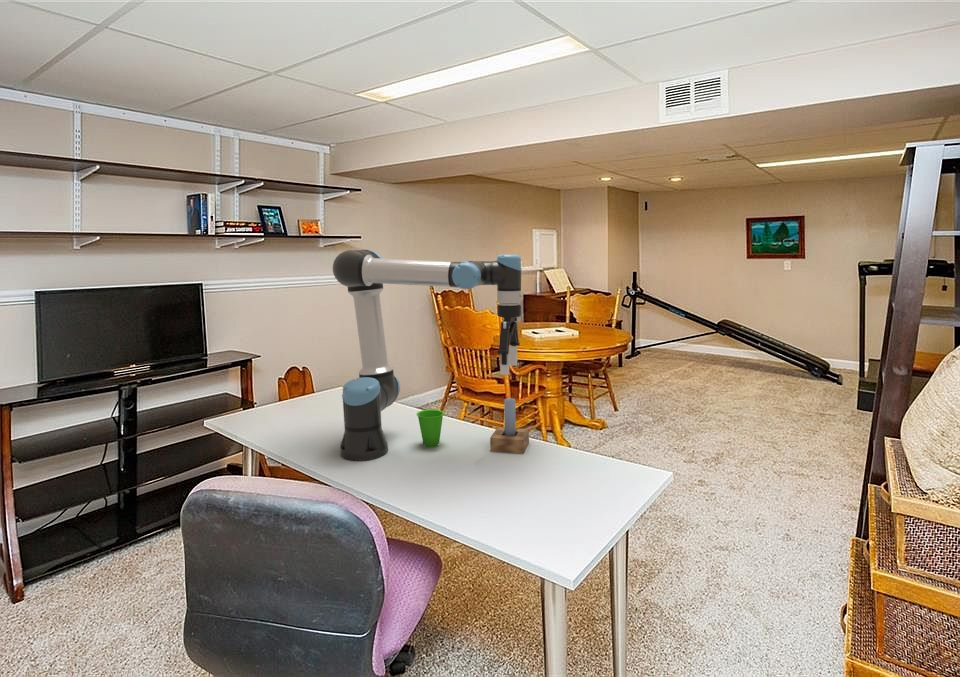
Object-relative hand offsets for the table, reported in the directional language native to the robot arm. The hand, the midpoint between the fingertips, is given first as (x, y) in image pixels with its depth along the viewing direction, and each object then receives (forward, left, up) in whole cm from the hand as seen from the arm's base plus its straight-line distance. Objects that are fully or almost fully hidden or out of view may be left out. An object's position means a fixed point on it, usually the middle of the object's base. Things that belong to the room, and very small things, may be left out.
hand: (509, 369), depth 179 cm
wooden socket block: (0, 0, -26) cm, 26 cm away
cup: (-26, -4, -26) cm, 37 cm away
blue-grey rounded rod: (0, 0, -26) cm, 26 cm away
